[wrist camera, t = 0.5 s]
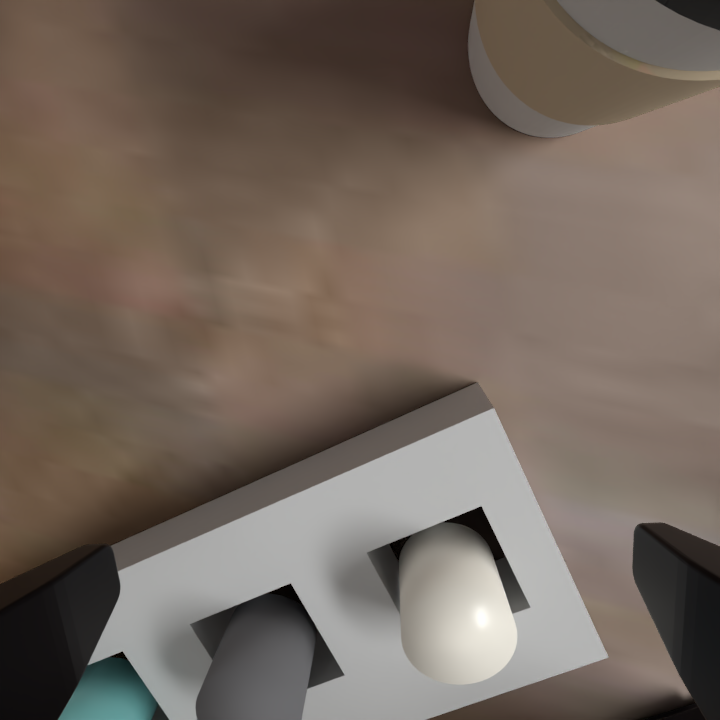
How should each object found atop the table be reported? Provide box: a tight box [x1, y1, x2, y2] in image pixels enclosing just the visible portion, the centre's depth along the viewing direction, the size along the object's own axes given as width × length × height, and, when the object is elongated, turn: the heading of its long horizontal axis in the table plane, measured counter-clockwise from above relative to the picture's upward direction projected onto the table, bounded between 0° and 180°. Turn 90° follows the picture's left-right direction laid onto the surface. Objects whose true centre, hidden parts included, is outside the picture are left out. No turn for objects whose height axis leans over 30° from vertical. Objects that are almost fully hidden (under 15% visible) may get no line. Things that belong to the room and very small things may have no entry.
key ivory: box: [399, 522, 517, 685], centre depth 19 cm, size 4×4×4 cm
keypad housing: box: [88, 382, 609, 720], centre depth 23 cm, size 12×26×4 cm, turn 116°
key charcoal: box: [195, 594, 317, 720], centre depth 20 cm, size 4×4×4 cm
